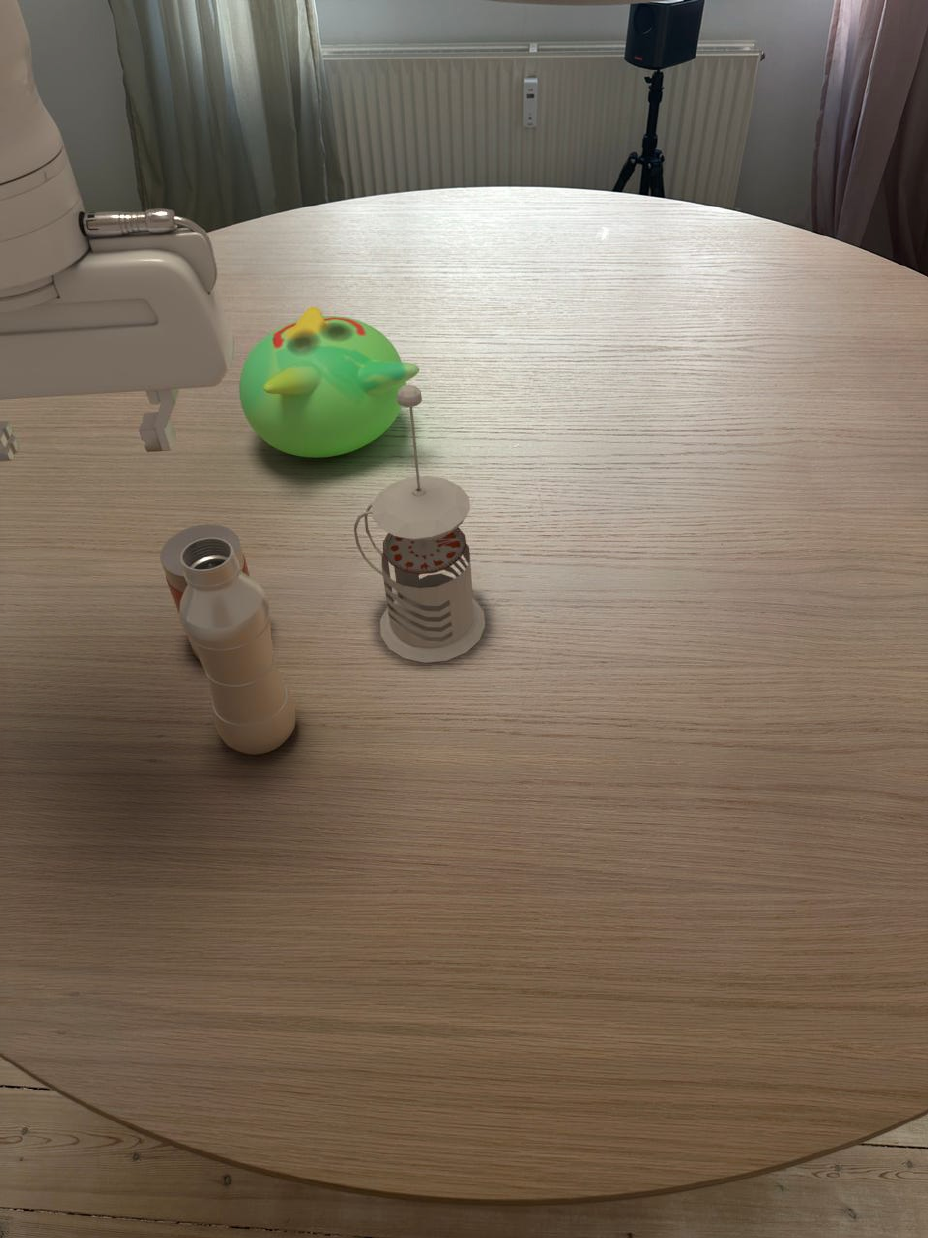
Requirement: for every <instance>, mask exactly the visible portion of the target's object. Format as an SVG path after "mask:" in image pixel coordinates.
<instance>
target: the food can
mask: <svg viewBox="0 0 928 1238" xmlns="http://www.w3.org/2000/svg"><path fill="white" fill-rule="evenodd" d="M210 537H212V538H220V539H224V540H226V541H227V542H229V543H230V544H231V546H232V548H233V550H234V553H235V557H236V558H237V560H238V562H239V565H240V571H241V572H243V573H245V574H247V575H248V576H250V577H251V575H250V571H249V568H248V564H247V561H246V557H245V554H244V553H243V550H242V546H241V542H240V539H239V536H238V535H237V534H236V533H235V532H234V531H233V530H232V529H230V528H228V527H226V526H224V525H220V524H210V523H209V524H198V525H194V526H190V527H187V528H185V529H182V530H180V531H179V532H177V533H176V534H174V535H172V536H171V537H170V538H169V539H168V540H167V541H166V542H165V544H164V545H163V547H162V549H161V551H160V555H159V556H160V563H161V565H162V568H163V571H164V575H165V579H166V582H167V585H168V589H169V592H170V593H171V596H172V599H173V602H174V604H175V608H176V610H177V613H178V614H179V610H180V601H181V598H182V595H183V593H184V591H185V589H186V587H187V585H188V584H187V582H186V580H185V577H184V570H183V567H182V564H181V559H180V557H181V553H182V551H183V550H184V548H185V547H186V546H187V545H189V544H190V543H192V542H194V541H196V540H199V539H203V538H210ZM186 637H187V640H188V641H189V644H190V646H191V650H192V652H193V654H194V655H195V657H196V658H197V659H198V660H200V658H199V656H198V654H197V652H196V650H195V649H194V647H193V645H192V643H191V642H190V640H189V638H188V636H187V635H186Z"/></svg>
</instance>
